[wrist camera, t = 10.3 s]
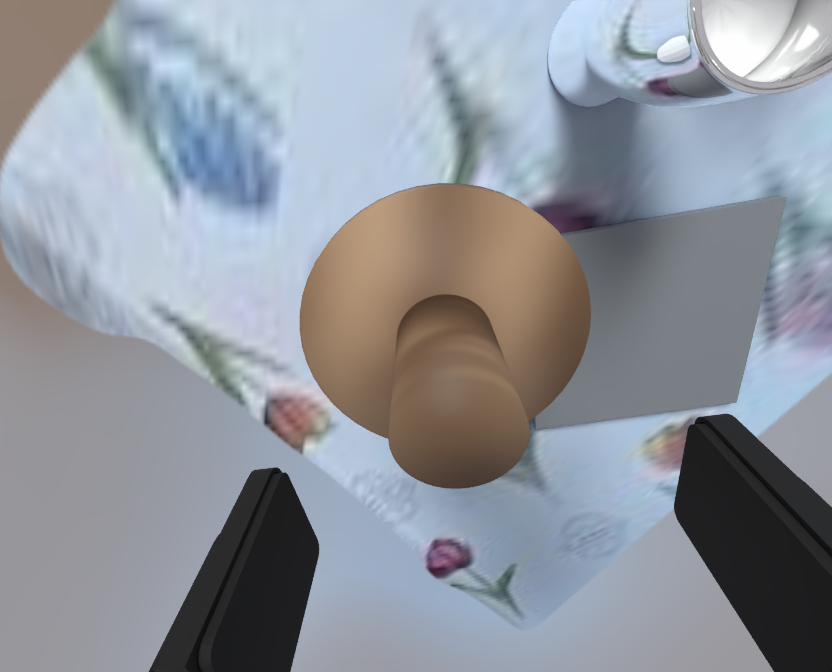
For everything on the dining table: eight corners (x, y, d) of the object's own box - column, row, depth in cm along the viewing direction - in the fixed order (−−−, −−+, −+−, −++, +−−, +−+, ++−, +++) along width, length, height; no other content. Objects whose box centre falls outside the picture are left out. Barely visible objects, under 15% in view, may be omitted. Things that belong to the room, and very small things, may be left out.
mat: (777, 195, 28) (786, 197, 28) (730, 397, 37) (736, 402, 36) (524, 239, 30) (526, 242, 29) (533, 424, 38) (535, 429, 37)
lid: (582, 152, 14) (711, 172, 8) (581, 413, 20) (658, 545, 14) (263, 217, 15) (161, 279, 9) (347, 448, 21) (319, 585, 15)
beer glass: (624, 125, 26) (836, 124, 13) (524, 100, 26) (641, 72, 12) (677, -7, 23) (1027, -184, 10) (564, -39, 23) (780, -276, 9)
